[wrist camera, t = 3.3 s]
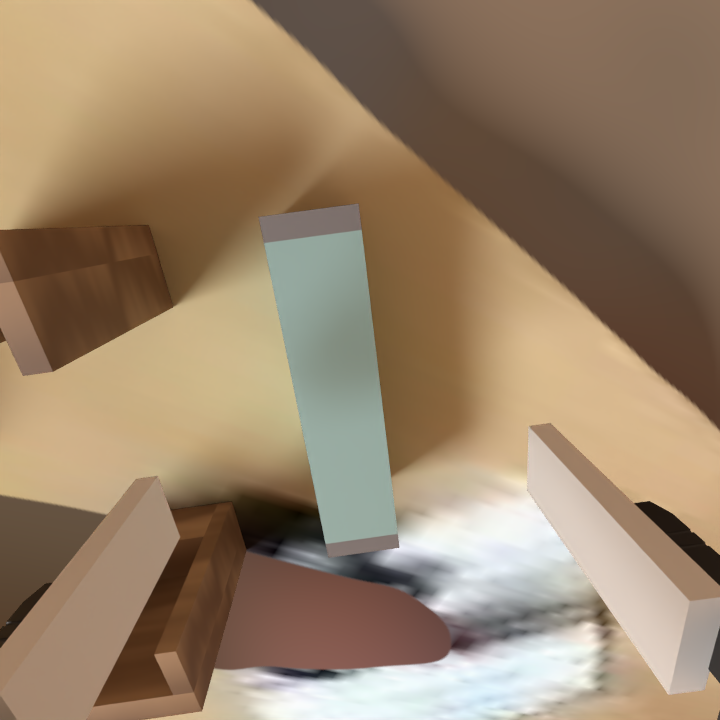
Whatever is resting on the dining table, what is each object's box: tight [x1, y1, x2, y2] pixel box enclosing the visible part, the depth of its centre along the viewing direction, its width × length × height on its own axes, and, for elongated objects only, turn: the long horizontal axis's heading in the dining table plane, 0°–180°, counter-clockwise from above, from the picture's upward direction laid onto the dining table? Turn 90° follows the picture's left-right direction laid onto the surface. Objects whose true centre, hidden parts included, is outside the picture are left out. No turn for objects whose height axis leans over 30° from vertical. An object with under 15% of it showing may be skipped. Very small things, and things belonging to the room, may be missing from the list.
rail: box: [259, 204, 399, 557], centre depth 21 cm, size 18×4×6 cm, turn 7°
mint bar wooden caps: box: [0, 225, 246, 720], centre depth 20 cm, size 23×8×10 cm, turn 7°
